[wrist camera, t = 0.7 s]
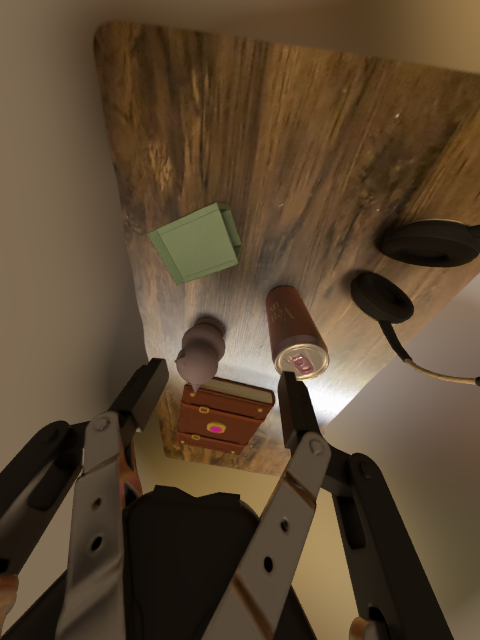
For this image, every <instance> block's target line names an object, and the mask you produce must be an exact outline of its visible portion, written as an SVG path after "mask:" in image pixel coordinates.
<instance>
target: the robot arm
mask: <svg viewBox="0 0 480 640" xmlns="http://www.w3.org/2000/svg"><path fill="white" fill-rule="evenodd" d="M168 379H169V372H168V368H167V364H166V360H165V359H161V358H152V359H151V360H150V362H149V363H148V365H143V366H142V367H140V368H139V369H138V370H137V371H136V372H135V373H134V375H133V376H132V377H131V379H130V380H129V381H128V383H127V385H126V386H125V387H124V389H123V390H122V391H121V393H120V394H119V395H118V397H117V398H116V400H115V401H114V402H113V404H112V405H111V407H110V408H109V409H108V410H107V411H106V412H104V413H101V414H99V415H98V416H96V417H95V418H93V419H92V420H91V421H87V422H83V423H78V424H74V425H69V424H68V423H67V422H65V421H56V422H53V423H50V424H48V425H47V426H45V427H43V428H42V429H41V430H39V431H38V432H37V433H36V434H35V435H34V436H33V437H32V438H31V440H30V441H29V442H28V443H27V444H26V445H25V446H24V447H23V449H22V450H21V451H20V452H19V453H18V454H17V455H16V456H15V457H14V459H13V460H12V461H11V462H10V463H9V464H8V465H7V466H6V467H5V468H4V470H3V471H2V472H1V473H0V640H317V638H316V636H315V633H314V631H313V629H312V627H311V625H310V623H309V621H308V619H307V617H306V615H305V613H304V610H303V608H302V606H301V604H300V602H299V600H298V597H297V596H296V593H295V591H294V589H293V587H292V585H291V583H292V580H293V577H294V574H295V571H296V568H297V565H298V562H299V559H300V556H301V553H302V550H303V547H304V544H305V541H306V538H307V535H308V532H309V529H310V526H311V523H312V520H313V517H314V514H315V510H316V499H317V496H318V493H319V490H320V487H321V488H323V489H325V490H327V491H329V492H330V493H331V494H332V498H333V502H334V507H335V511H336V515H337V520H338V524H339V529H340V534H341V538H342V542H343V547H344V551H345V555H346V560H347V564H348V568H349V573H350V578H351V582H352V586H353V591H354V595H355V600H356V604H357V608H358V613H359V617H357V618H355V619H354V620H353V622H352V624H351V627H350V632H349V640H454V638H453V636H452V634H451V632H450V629H449V627H448V625H447V622H446V620H445V618H444V615H443V613H442V611H441V608H440V606H439V604H438V602H437V599H436V597H435V595H434V592H433V590H432V588H431V585H430V583H429V581H428V579H427V576H426V574H425V572H424V569H423V567H422V565H421V562H420V560H419V558H418V555H417V553H416V551H415V549H414V546H413V544H412V541H411V539H410V537H409V535H408V532H407V530H406V528H405V525H404V523H403V521H402V518H401V516H400V514H399V512H398V510H397V507H396V505H395V502H394V500H393V498H392V495H391V493H390V491H389V488H388V486H387V484H386V481H385V479H384V477H383V475H382V472H381V470H380V469H379V467H378V466H377V465H376V463H375V462H374V461H373V460H372V459H371V458H369V457H368V456H366V455H364V454H362V453H354V454H352V455H349V454H347V453H345V452H343V451H341V450H338V449H336V448H335V447H333V446H331V445H330V444H329V443H328V442H327V441H326V440H325V439H324V438H323V436H322V434H321V432H320V430H319V427H318V423H317V420H316V416H315V413H314V409H313V406H312V404H311V399H310V396H309V392H308V389H307V387H306V386H305V384H304V383H303V381H298V380H297V379H296V375H295V372H292V371H282V373H281V377H280V380H279V383H278V399H279V407H280V415H281V423H282V430H283V438H284V446H285V448H288V449H290V451H291V458H290V460H289V462H288V464H287V466H286V468H285V470H284V472H283V474H282V476H281V478H280V480H279V481H278V483H277V485H276V487H275V489H274V491H273V493H272V495H271V497H270V498H269V500H268V502H267V504H266V506H265V508H264V510H263V512H262V514H261V516H260V518H259V517H258V515H257V514H256V513H255V511H254V510H253V509H252V508H251V507H250V506H249V505H248V504H246V503H245V502H243V501H242V500H240V495H239V494H231V493H222V492H218V493H214V494H210V495H206V496H202V497H198V498H197V497H193V496H191V495H190V494H187V493H186V492H184V491H182V490H180V489H178V488H176V487H169V486H160V485H155V488H154V491H151V492H149V493H146V494H144V495H143V494H142V488H141V483H140V480H139V477H138V473H137V467H136V460H135V452H134V444H133V436H134V434H135V432H143V430H144V429H145V427H146V424H147V422H148V420H149V418H150V416H151V414H152V412H153V410H154V408H155V406H156V404H157V402H158V400H159V398H160V396H161V394H162V392H163V390H164V388H165V386H166V384H167V382H168ZM82 468H83V472H82V475H81V476H80V477H78V475H79V473H80V472H81V469H82ZM77 477H78V478H77ZM76 478H77V480H76ZM75 480H76V483H75V488H74V498H73V509H72V520H71V532H70V543H69V555H68V565H67V569H66V570H65V571H64V573H63V574H62V575H61V576H60V577H59V578H58V579H57V580H56V581H55V582H54V583H53V584H52V585H51V586H50V587H49V588H48V589H47V590H46V591H45V592H44V593H43V594H42V595H41V596H40V597H39V598H38V600H36V601H35V603H34V604H33V605H32V606H31V607H30V608H29V609H28V610H27V611H26V612H25V613H24V614H23V615H22V616H21V617H20V618H19V619H18V620H17V621H16V622H15V623H14V624H13V625H12V626H11V627H10V628H9V629H8V630H7V631H6V632H5V634H4V635H3V636H2V637H1V632H2V627H3V623H4V620H5V618H6V615H7V614H8V613H9V612H10V610H11V609H12V607H13V605H14V603H15V601H16V596H17V594H16V593H17V590H18V584H19V580H18V574H19V572H20V571H21V569H22V568H23V566H24V564H25V563H26V561H27V559H28V558H29V556H30V554H31V552H32V551H33V549H34V548H35V546H36V544H37V543H38V541H39V539H40V538H41V536H42V534H43V533H44V531H45V530H46V528H47V526H48V524H49V523H50V521H51V520H52V518H53V516H54V515H55V513H56V511H57V510H58V508H59V506H60V504H61V503H62V501H63V500H64V498H65V496H66V495H67V493H68V491H69V490H70V488H71V487H72V485H73V483H74V482H75Z"/></svg>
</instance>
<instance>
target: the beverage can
mask: <svg viewBox="0 0 480 640" xmlns="http://www.w3.org/2000/svg"><path fill="white" fill-rule="evenodd" d="M266 310H267V318H268V327H269V336H270V345H271V353H272V360H273V363H274V365H275V369H276V371H277V372H278V373H279V374H280V375H281V373H282V371H292V372H295V375H296V379H297V380H298V381H305V380H310V379H313V378H315V377H317V376H319V375H321V374H322V373H323V372H324V371H325V370H326V369H327V367H328V365H329V355H328V350H327V347H326V345H325V343H324V341H323V339H322V337H321V335H320V333H319V331H318V329H317V327H316V325H315V324H314V322H313V320H312V318H311V316H310V314H309V312H308V310H307V308H306V306H305V304H304V302H303V300H302V298H301V297H300V295H299V293H298V292H297V291H296V290H295V289H294V288H292V287H288V286H282V287H278V288H276V289H274V290H273V291H271V292H270V293H269V295H268V296H267V299H266Z"/></svg>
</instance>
